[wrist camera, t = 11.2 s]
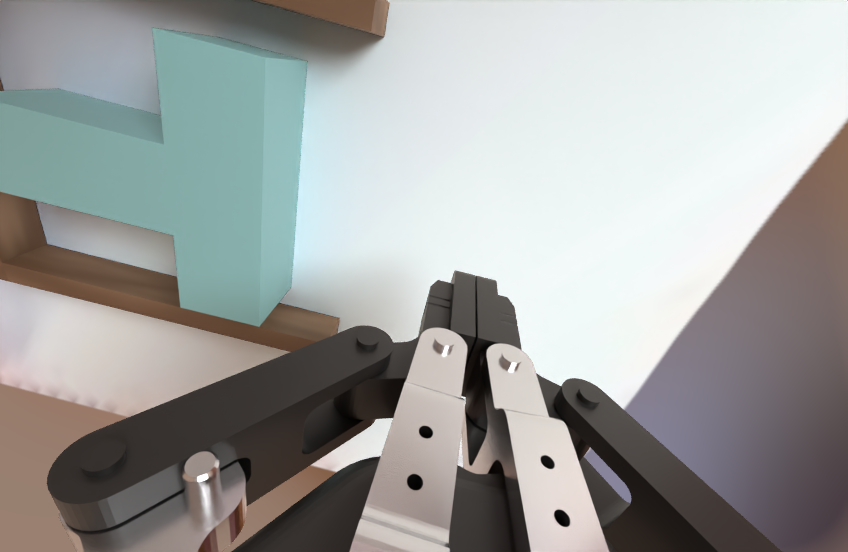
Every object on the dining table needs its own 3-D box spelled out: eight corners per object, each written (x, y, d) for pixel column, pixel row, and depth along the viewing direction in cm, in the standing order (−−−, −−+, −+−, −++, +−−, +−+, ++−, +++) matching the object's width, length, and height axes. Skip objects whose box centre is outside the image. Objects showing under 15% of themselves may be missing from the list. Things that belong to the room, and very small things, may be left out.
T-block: (36, -12, 16) (-81, -35, 13) (307, 61, 17) (265, 57, 13) (91, 236, 22) (20, 267, 19) (291, 287, 22) (258, 326, 19)
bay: (-88, -131, 15) (-184, -166, 13) (389, 2, 15) (376, -9, 13) (32, 256, 23) (-13, 275, 21) (337, 333, 24) (324, 359, 22)
